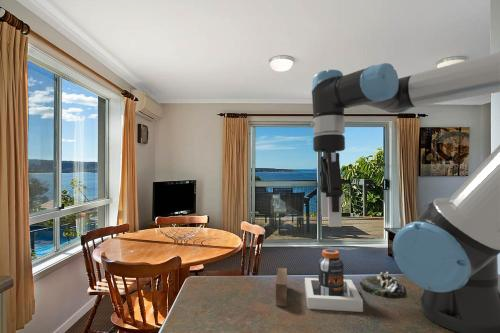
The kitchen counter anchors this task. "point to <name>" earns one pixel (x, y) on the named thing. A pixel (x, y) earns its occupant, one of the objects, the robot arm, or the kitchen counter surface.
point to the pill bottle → (331, 274)
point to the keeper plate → (333, 297)
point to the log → (383, 286)
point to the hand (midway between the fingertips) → (330, 221)
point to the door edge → (281, 287)
